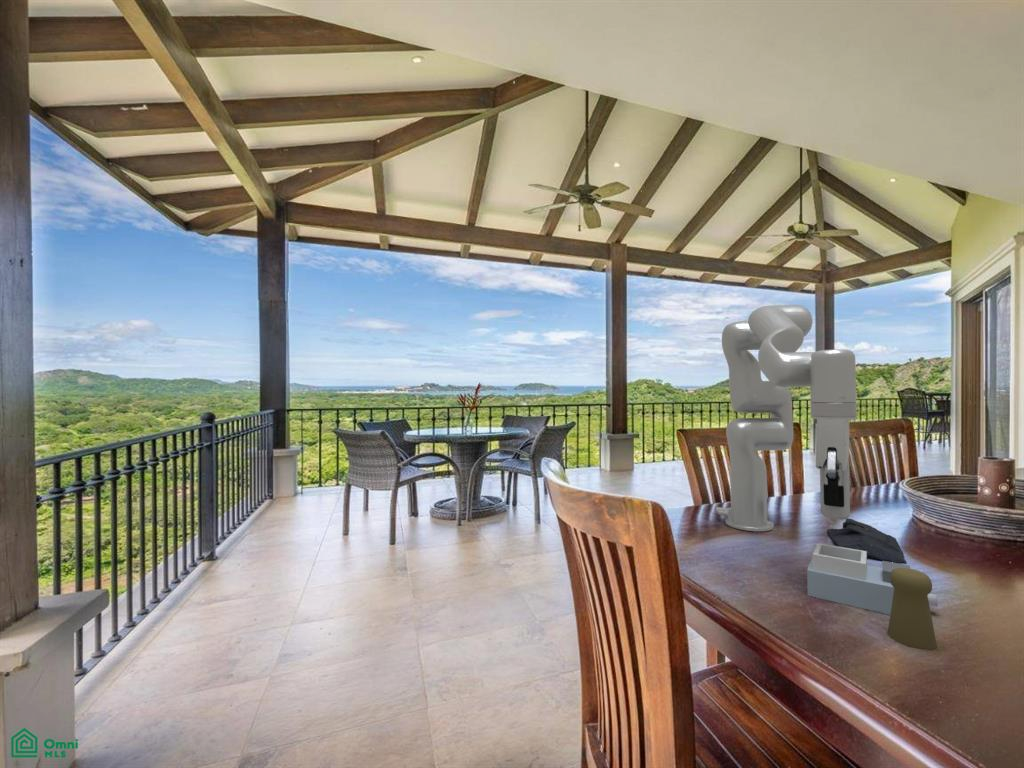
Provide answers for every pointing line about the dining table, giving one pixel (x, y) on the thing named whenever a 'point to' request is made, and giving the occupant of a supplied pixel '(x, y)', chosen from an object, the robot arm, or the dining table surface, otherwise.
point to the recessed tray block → (852, 579)
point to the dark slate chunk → (867, 541)
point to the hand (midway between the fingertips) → (835, 502)
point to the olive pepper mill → (911, 609)
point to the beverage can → (844, 511)
